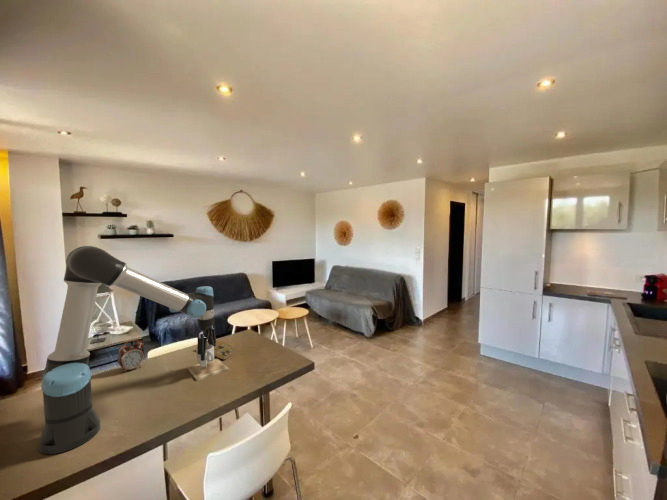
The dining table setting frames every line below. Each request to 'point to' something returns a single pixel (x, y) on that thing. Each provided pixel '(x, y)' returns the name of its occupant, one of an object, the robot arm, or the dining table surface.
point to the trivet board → (207, 369)
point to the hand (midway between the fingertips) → (207, 362)
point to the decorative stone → (222, 349)
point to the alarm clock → (131, 355)
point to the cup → (209, 354)
